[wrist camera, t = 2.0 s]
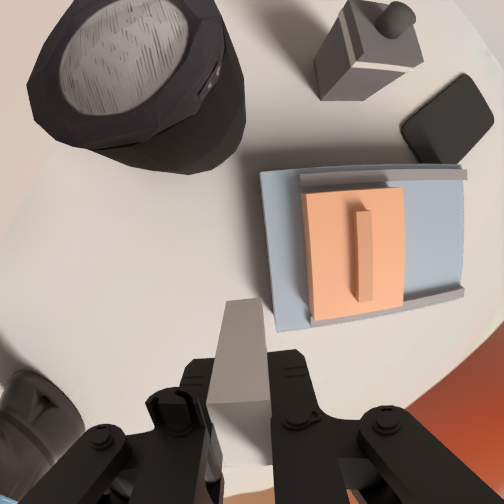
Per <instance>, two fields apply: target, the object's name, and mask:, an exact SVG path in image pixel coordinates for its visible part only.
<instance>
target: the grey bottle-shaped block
mask: <svg viewBox="0 0 504 504" xmlns="http://www.w3.org/2000/svg"><path fill="white" fill-rule="evenodd" d="M415 22H416V16H415V14H414V12H413V11H412V9H411V8H410V7H408V6H407V5H406V4H404V3H401V2H398V1H394V2H392V3H390V5H388V4H382V3H377V2H370V1H364V0H347V2H346V4H345V6H344V7H343V8H342V9H341V11H340V12H339V14H338V18H337V20H336V21H335V23H334V25H333V27H332V28H331V30H330V32H329V34H328V35H327V37H326V39H325V41H324V43H323V44H322V46H321V48H320V50H319V52H318V53H317V55H316V57H315V59H314V66H315V71H316V77H317V82H318V88H319V94H320V101H364V100H365V99H367V98H368V97H370V96H371V95H373V94H374V93H376V92H377V91H379V90H380V89H382V88H383V87H385V86H386V85H388V84H389V83H391V82H392V81H394V80H395V79H397V78H398V77H400V76H402V75H403V74H405V73H406V72H407V73H408V72H410V71H411V70H413V69H414V67H416V66H417V65H419V64H421V63H422V62H424V60H423V56H422V53H421V49H420V46H419V43H418V39H417V36H416V33H415V30H414V27H413V24H414V23H415Z"/></svg>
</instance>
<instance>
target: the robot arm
mask: <svg viewBox="0 0 504 504" xmlns="http://www.w3.org/2000/svg"><path fill="white" fill-rule="evenodd" d="M145 404H146V407H147V409H148V412H149V414H150V416H151V419H152V421H153V423H154V426H155V427H154V430H152V431H149V432H145V433H139V434H133V435H125V434H124V432H123V431H122V429H121V428H119V427H117V426H116V425H111V424H101V425H97V426H94V427H92V428H90V429H88V430H87V431H86V432H85V426H84V423H83V420H82V418H81V416H80V414H79V413H78V411H77V409H76V408H75V407H74V405H73V404H72V403H71V402H70V400H69V399H68V398H67V397H66V396H65V395H64V394H63V393H62V392H61V391H60V390H59V389H58V388H57V387H55V386H54V385H53V384H52V383H50V382H49V381H47V380H46V379H44V378H43V377H41V376H39V375H37V374H35V373H33V372H29V371H18V372H16V373H15V374H14V375H13V376H12V377H11V378H10V379H9V380H8V381H7V383H6V385H5V388H4V391H3V393H2V395H1V398H0V504H223V495H224V477H223V474H222V471H221V470H222V460H223V462H224V465H225V467H250V466H265V465H273V476H274V490H275V504H350V502H349V498H348V494H347V491H346V489H350V490H351V492H352V494H353V495H354V497H355V498H356V500H357V501H358V502H359V504H504V499H502V498H501V497H500V496H499V495H498V494H497V493H495V492H494V491H493V490H492V489H491V488H490V487H489V486H488V485H487V484H486V483H485V482H484V481H482V480H481V479H480V478H479V477H478V476H477V475H476V474H475V473H474V472H473V471H471V470H470V469H469V468H468V467H467V466H466V465H465V464H464V463H463V462H462V461H461V460H460V459H458V458H457V457H456V456H455V455H454V454H453V453H452V452H451V451H450V450H449V449H448V448H446V447H445V446H444V445H443V444H442V443H441V442H440V441H439V440H438V439H437V438H436V437H435V436H433V435H432V434H431V433H430V432H429V431H428V430H427V429H426V428H425V427H424V426H423V425H422V424H421V423H420V422H418V421H417V420H416V419H415V418H414V417H413V416H412V415H411V414H410V413H409V412H407V411H405V410H404V409H402V408H400V407H396V406H392V405H388V406H379V407H375V408H372V409H370V410H369V411H367V412H366V413H364V415H363V416H362V418H361V419H360V420H344V419H337V418H334V417H331V416H329V415H327V414H325V413H324V412H323V411H322V410H321V409H320V407H319V405H318V403H317V399H316V396H315V392H314V389H313V385H312V382H311V378H310V375H309V371H308V368H307V364H306V361H305V357H304V356H303V355H302V354H301V353H300V352H299V351H297V350H296V349H293V350H285V351H276V352H268V351H267V342H266V333H265V324H264V315H263V306H262V298H253V299H243V300H233V301H226V306H225V311H224V316H223V321H222V326H221V331H220V336H219V341H218V346H217V351H216V356H215V358H205V359H193V360H192V361H191V362H190V363H189V364H188V365H187V366H186V367H185V370H184V373H183V376H182V379H181V382H180V386H179V387H172V388H166V389H163V390H160V391H157V392H156V393H154V394H153V395H151V396H150V397H149V398H148V399H147V401H146V402H145Z"/></svg>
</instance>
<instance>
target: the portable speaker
mask: <svg viewBox="0 0 504 504" xmlns="http://www.w3.org/2000/svg"><path fill="white" fill-rule="evenodd" d="M27 91H28V96H29V100H30V105H31V109H32V113H33V117H34V121H36V123H37V124H39V125H40V126H41V127H42V128H43V129H44V130H45V131H46V132H47V133H48V134H49V135H50V136H52V137H53V138H54V139H55V140H56V141H59V142H62V143H65V144H67V145H70V146H73V147H77V148H84V149H88V150H91V151H93V152H96V153H98V154H101V155H103V156H106V157H108V158H110V159H113V160H115V161H118V162H120V163H123V164H125V165H128V166H130V167H135V168H141V169H146V170H152V171H161V172H169V173H177V174H185V175H191V174H195V173H200V172H204V171H209V170H212V169H214V168H215V167H217V166H218V165H220V164H221V163H223V162H224V161H225V160H226V159H227V158H228V157H230V156H231V155H232V154H233V153H234V152H235V151H236V149H237V147H238V145H239V143H240V141H241V139H242V136H243V132H244V128H245V124H246V111H245V91H244V77H243V73H242V70H241V67H240V64H239V61H238V58H237V55H236V52H235V50H234V47H233V44H232V42H231V39H230V36H229V34H228V31H227V29H226V26H225V24H224V21H223V19H222V16H221V14H220V12H219V10H218V8H217V6H216V4H215V2H214V0H74V1H73V3H72V4H71V6H70V7H69V8H68V9H67V11H66V12H65V14H64V15H63V16H62V18H61V19H60V20H59V22H58V24H57V25H56V26H55V28H54V29H53V30H52V32H51V33H50V35H49V36H48V38H47V40H46V41H45V43H44V45H43V47H42V49H41V51H40V54H39V56H38V58H37V61H36V63H35V66H34V68H33V71H32V73H31V75H30V78H29V80H28V82H27Z"/></svg>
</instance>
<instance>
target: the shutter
mask: <svg viewBox="0 0 504 504" xmlns="http://www.w3.org/2000/svg"><path fill="white" fill-rule="evenodd" d="M300 194H301V205H302V215H303V227H304V239H305V252H306V266H307V282H308V300H309V310H310V312H311V314H312V317H313V319H314V321H319V320H326V319H332V318H339V317H345V316H351V315H357V314H363V313H368V312H374V311H379V310H384V309H390V308H395V307H400V306H403V292H404V269H405V222H404V198H403V188H400V187H378V188H361V189H346V190H332V191H320V192H308V193H300Z"/></svg>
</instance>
